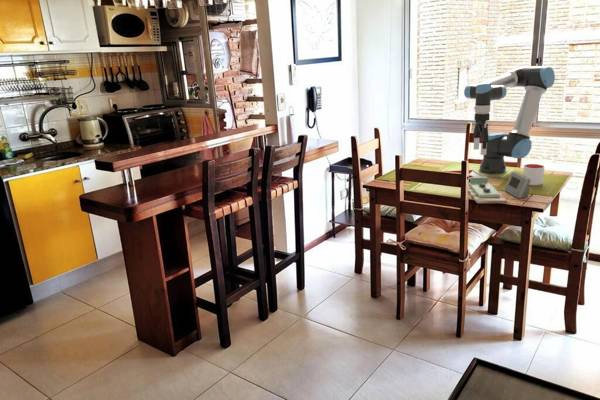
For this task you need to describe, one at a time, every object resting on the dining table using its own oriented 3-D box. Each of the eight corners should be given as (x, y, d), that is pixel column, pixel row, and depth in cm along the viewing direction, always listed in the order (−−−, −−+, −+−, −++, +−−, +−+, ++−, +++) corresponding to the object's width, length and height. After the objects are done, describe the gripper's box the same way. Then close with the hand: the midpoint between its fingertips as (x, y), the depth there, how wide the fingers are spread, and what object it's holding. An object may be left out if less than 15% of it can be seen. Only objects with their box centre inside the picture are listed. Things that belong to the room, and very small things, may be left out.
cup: (544, 186, 245) (546, 168, 242) (524, 186, 247) (526, 168, 244) (539, 181, 255) (541, 163, 252) (520, 181, 257) (521, 164, 254)
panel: (468, 185, 250) (469, 177, 249) (487, 184, 249) (488, 176, 248) (478, 197, 230) (479, 188, 228) (499, 196, 228) (500, 188, 227)
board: (464, 186, 253) (464, 179, 251) (490, 186, 251) (491, 179, 250) (477, 203, 225) (477, 195, 224) (506, 203, 223) (507, 194, 222)
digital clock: (503, 190, 243) (504, 171, 240) (521, 190, 242) (523, 170, 239) (512, 199, 228) (514, 179, 225) (531, 199, 227) (533, 178, 223)
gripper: (468, 110, 255) (466, 147, 261) (481, 116, 231) (479, 157, 238) (482, 109, 254) (480, 147, 260) (497, 115, 230) (493, 156, 237)
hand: (479, 152), depth 249 cm, fingers open, 13 cm apart
